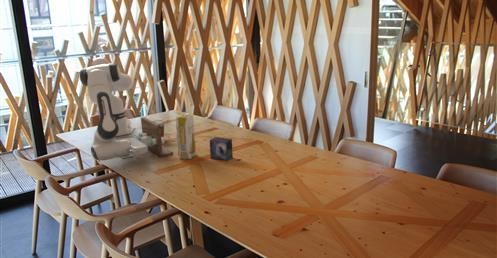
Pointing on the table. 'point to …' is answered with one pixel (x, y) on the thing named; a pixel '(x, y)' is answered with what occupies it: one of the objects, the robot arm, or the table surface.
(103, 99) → the robot arm
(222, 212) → the table surface
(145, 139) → the button middle
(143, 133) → the button
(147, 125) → the brown wooden rack
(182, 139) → the juice carton
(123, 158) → the card
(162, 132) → the disposable coffee cup
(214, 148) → the small box
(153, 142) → the button
